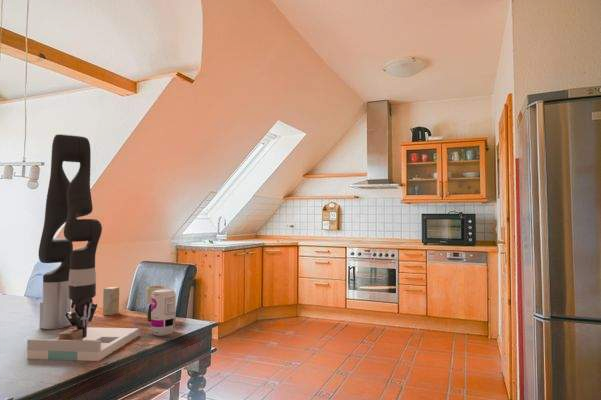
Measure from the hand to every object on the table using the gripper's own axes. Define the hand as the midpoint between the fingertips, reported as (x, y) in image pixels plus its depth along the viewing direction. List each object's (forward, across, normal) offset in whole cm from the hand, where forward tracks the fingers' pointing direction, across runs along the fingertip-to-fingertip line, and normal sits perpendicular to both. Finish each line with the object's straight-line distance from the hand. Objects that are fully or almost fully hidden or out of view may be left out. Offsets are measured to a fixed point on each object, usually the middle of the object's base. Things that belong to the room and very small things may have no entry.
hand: (81, 338), depth 125 cm
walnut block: (+1, +5, 0) cm, 5 cm away
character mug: (+4, -37, +7) cm, 38 cm away
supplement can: (+4, -19, +18) cm, 27 cm away
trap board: (+4, -3, 0) cm, 5 cm away
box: (+4, -44, -16) cm, 47 cm away
